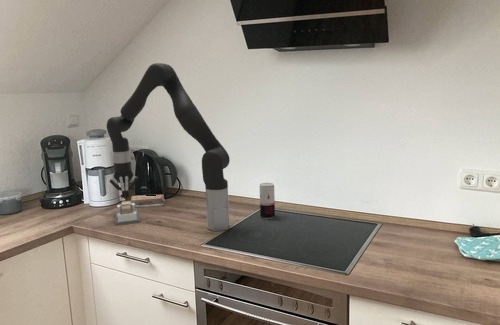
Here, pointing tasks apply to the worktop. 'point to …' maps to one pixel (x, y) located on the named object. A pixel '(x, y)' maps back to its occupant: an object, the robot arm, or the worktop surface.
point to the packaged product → (148, 200)
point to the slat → (126, 207)
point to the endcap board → (127, 215)
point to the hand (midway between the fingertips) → (125, 198)
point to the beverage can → (267, 200)
